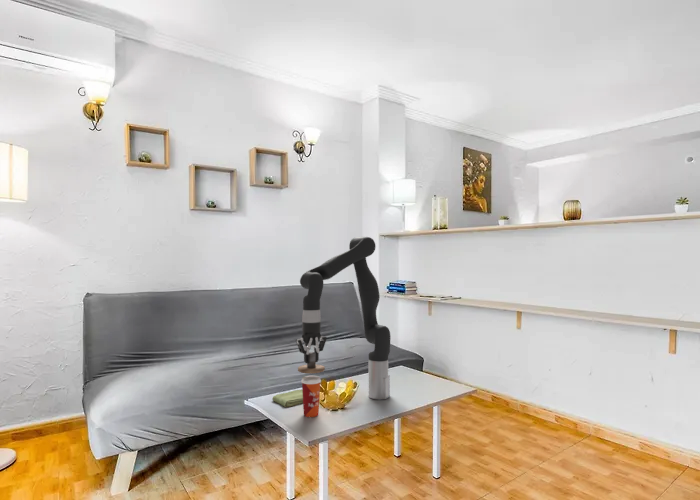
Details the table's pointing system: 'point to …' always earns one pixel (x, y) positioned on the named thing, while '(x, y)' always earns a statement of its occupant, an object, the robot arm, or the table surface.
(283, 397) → the washcloth
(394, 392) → the table surface
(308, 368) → the walnut lid
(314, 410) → the coffee cup
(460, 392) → the table surface
